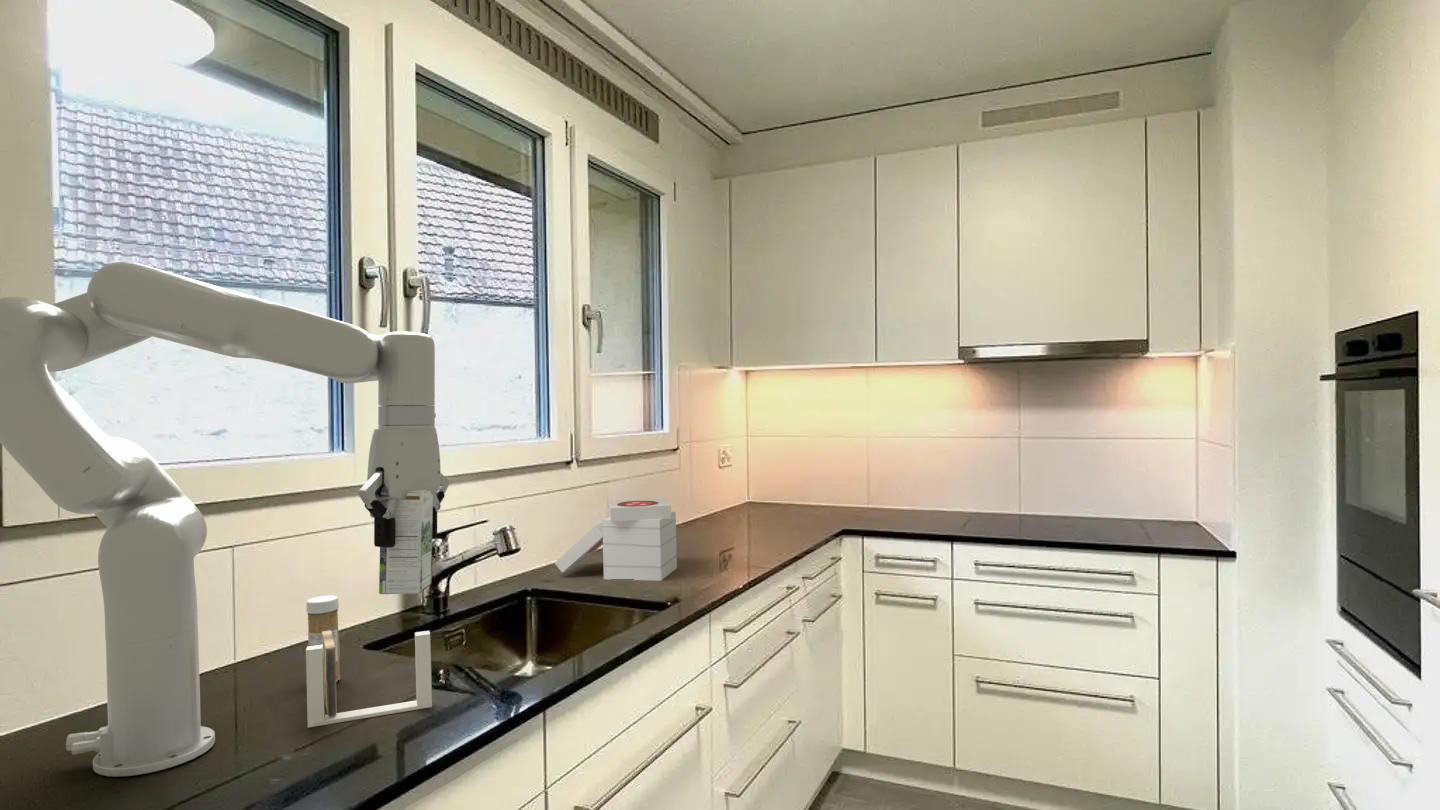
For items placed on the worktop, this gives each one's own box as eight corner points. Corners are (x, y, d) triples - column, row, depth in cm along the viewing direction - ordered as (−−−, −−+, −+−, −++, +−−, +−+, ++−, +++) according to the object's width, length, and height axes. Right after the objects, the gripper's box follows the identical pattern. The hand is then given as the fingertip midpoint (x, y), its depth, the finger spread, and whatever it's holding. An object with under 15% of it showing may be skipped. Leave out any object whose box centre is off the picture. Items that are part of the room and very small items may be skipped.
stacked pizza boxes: (580, 564, 214) (578, 498, 214) (686, 566, 208) (684, 498, 208) (550, 580, 195) (548, 507, 195) (666, 583, 189) (665, 508, 189)
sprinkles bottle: (341, 675, 128) (339, 593, 128) (338, 684, 124) (336, 599, 124) (310, 679, 127) (308, 596, 127) (306, 689, 122) (304, 602, 122)
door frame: (307, 727, 107) (305, 650, 107) (309, 721, 109) (307, 646, 109) (432, 706, 114) (430, 634, 114) (431, 701, 116) (429, 630, 116)
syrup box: (391, 586, 115) (391, 486, 115) (433, 585, 115) (433, 486, 115) (378, 595, 109) (378, 490, 109) (422, 594, 110) (422, 490, 110)
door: (338, 714, 109) (337, 648, 109) (327, 716, 109) (326, 650, 109) (333, 690, 119) (332, 630, 119) (323, 692, 118) (322, 631, 118)
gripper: (428, 418, 122) (428, 532, 122) (337, 419, 106) (337, 550, 105) (468, 418, 119) (468, 534, 119) (380, 419, 103) (380, 554, 103)
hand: (406, 541), depth 112 cm, fingers closed on syrup box, 7 cm apart
